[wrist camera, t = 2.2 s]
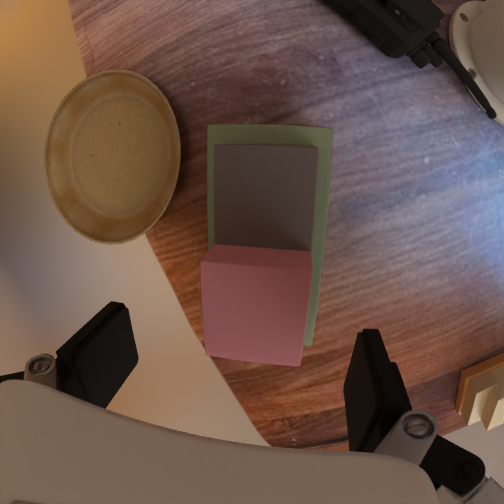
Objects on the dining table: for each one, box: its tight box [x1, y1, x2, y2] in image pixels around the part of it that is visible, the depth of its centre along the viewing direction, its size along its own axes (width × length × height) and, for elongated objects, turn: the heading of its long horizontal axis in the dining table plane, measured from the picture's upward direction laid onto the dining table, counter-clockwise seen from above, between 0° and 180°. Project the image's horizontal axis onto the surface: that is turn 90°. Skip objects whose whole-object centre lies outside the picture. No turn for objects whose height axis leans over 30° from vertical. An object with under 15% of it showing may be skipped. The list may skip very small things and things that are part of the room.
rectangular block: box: [207, 124, 333, 346], centre depth 19 cm, size 12×6×8 cm, turn 179°
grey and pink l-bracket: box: [200, 144, 319, 366], centre depth 13 cm, size 10×5×3 cm, turn 179°
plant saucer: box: [44, 69, 181, 244], centre depth 22 cm, size 15×15×3 cm
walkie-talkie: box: [323, 0, 497, 119], centre depth 14 cm, size 6×6×20 cm
